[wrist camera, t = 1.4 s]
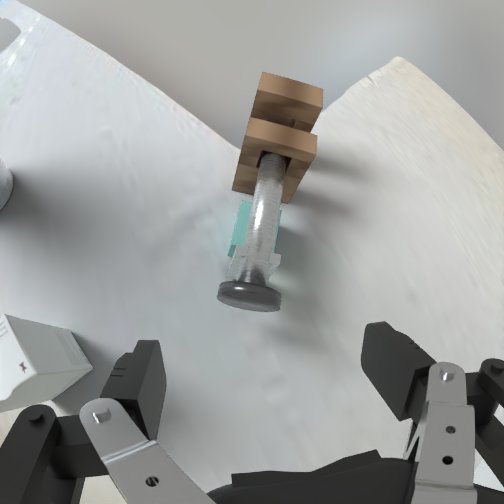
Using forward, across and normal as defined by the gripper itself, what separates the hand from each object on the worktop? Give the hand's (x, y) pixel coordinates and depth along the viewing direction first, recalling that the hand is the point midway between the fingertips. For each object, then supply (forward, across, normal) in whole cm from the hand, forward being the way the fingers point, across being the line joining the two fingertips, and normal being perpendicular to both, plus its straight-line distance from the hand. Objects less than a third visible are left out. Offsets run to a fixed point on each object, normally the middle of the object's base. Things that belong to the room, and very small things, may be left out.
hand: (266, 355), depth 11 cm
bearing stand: (+36, -5, -8) cm, 37 cm away
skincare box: (+19, +22, +14) cm, 32 cm away
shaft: (+29, -3, +1) cm, 29 cm away
